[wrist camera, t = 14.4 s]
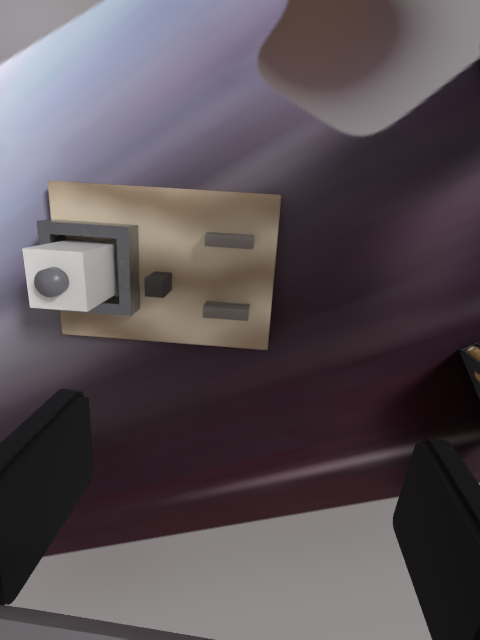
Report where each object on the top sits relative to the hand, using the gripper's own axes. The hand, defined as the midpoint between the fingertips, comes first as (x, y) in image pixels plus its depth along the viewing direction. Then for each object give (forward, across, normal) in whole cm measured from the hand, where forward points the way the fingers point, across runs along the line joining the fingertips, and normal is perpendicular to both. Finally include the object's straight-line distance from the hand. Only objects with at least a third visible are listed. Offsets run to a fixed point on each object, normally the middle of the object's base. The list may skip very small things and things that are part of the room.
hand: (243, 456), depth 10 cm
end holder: (+23, +15, +1) cm, 28 cm away
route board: (+25, +9, 0) cm, 26 cm away
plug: (+23, +15, +1) cm, 28 cm away
